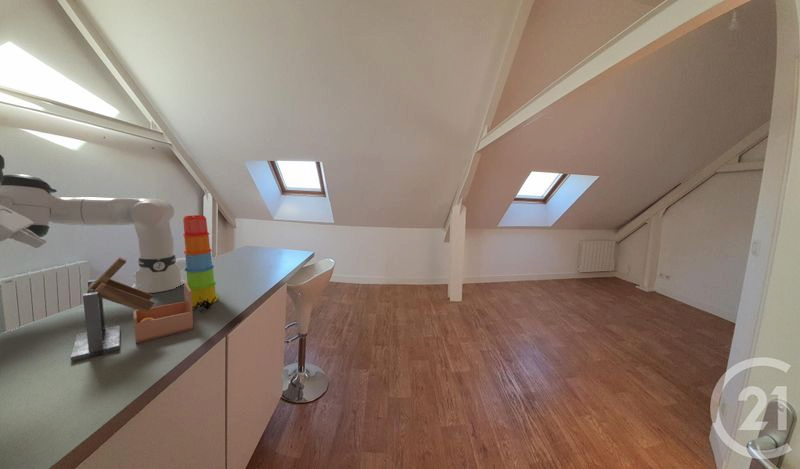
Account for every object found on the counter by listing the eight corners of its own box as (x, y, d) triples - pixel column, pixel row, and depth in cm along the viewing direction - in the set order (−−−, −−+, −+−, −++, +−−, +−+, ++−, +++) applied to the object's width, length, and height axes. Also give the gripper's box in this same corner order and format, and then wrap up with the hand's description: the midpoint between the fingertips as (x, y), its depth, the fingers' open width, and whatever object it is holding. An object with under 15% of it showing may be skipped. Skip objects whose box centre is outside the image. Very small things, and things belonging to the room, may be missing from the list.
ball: (152, 313, 84) (158, 323, 85) (135, 320, 81) (141, 330, 83) (153, 317, 81) (159, 328, 82) (136, 325, 79) (142, 335, 80)
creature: (185, 314, 98) (200, 314, 95) (182, 300, 97) (197, 299, 95) (206, 306, 105) (221, 306, 102) (203, 293, 105) (218, 292, 102)
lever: (87, 286, 75) (119, 254, 79) (142, 305, 84) (168, 275, 88) (83, 297, 68) (119, 261, 72) (144, 317, 77) (172, 284, 81)
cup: (134, 328, 84) (131, 289, 82) (187, 317, 94) (185, 281, 92) (135, 343, 76) (132, 300, 75) (193, 329, 86) (191, 291, 84)
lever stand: (78, 338, 77) (71, 282, 75) (120, 329, 83) (115, 277, 81) (71, 362, 67) (63, 298, 65) (119, 350, 73) (114, 291, 71)
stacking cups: (218, 303, 106) (215, 217, 101) (185, 308, 100) (180, 216, 95) (217, 295, 114) (215, 214, 109) (187, 299, 108) (183, 214, 103)
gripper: (-36, 210, 63) (38, 247, 72) (-82, 219, 49) (16, 263, 57) (-5, 192, 66) (62, 230, 74) (-41, 196, 52) (47, 242, 60)
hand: (42, 245), depth 66 cm, fingers closed
